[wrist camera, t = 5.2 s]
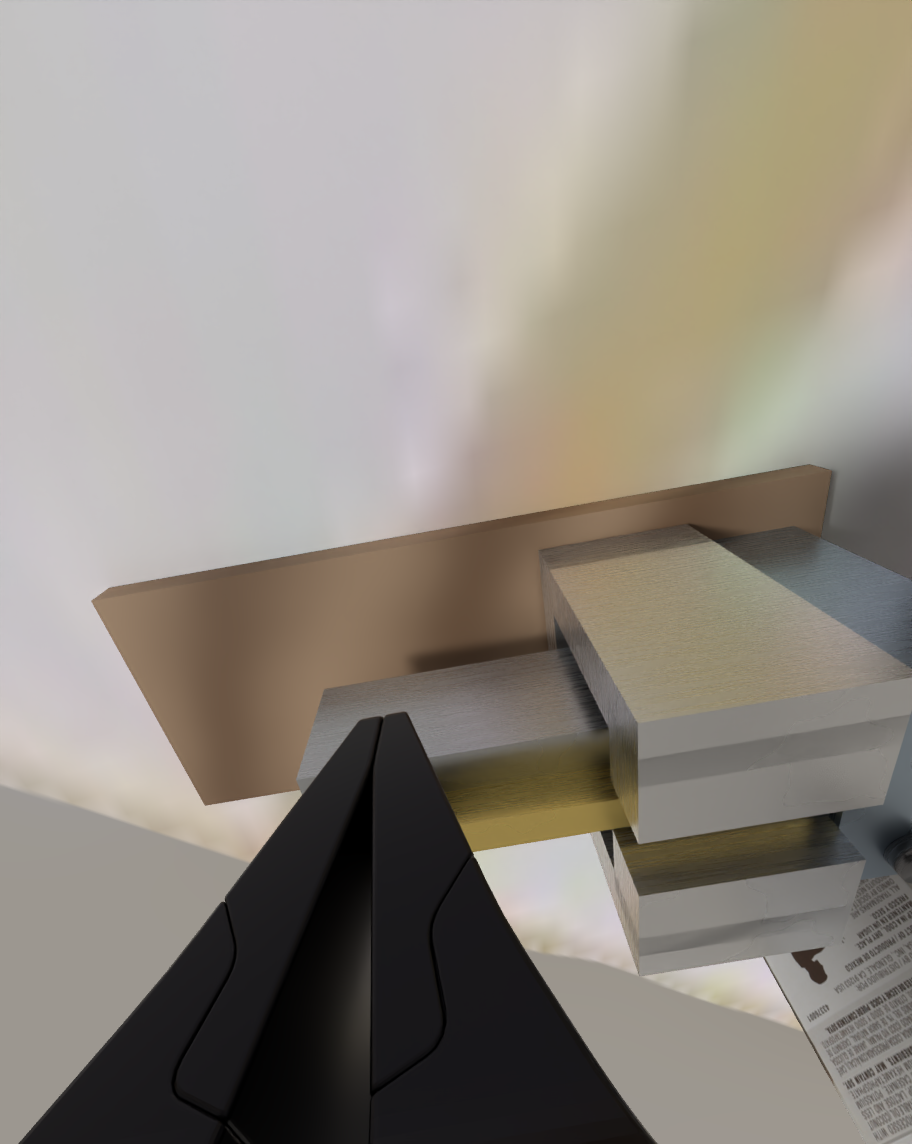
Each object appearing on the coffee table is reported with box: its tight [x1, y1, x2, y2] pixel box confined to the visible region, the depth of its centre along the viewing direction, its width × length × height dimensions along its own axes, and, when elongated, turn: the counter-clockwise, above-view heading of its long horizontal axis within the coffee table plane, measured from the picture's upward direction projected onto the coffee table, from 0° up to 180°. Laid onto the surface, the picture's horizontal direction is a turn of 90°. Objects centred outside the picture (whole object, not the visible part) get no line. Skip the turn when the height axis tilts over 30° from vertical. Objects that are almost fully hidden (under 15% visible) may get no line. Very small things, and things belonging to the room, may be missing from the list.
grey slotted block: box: [538, 524, 912, 976], centre depth 11 cm, size 4×7×7 cm, turn 10°
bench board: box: [92, 464, 832, 805], centre depth 15 cm, size 20×8×1 cm, turn 99°
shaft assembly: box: [296, 526, 912, 884], centre depth 11 cm, size 13×5×6 cm, turn 99°
